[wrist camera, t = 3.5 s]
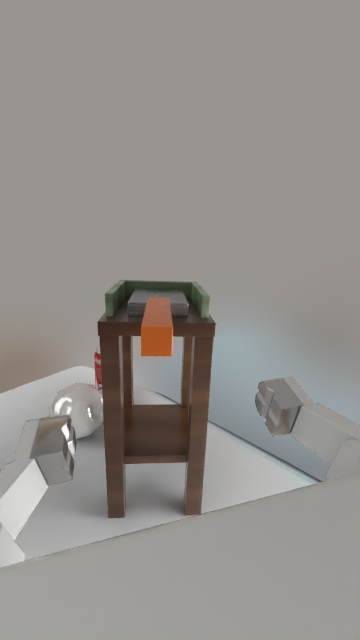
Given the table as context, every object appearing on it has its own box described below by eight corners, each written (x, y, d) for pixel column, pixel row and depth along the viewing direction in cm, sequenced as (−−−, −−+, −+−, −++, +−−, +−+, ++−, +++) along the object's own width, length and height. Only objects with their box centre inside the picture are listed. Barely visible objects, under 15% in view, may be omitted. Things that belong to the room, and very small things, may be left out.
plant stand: (201, 515, 34) (217, 299, 27) (107, 519, 34) (96, 296, 26) (190, 443, 47) (199, 281, 39) (121, 444, 46) (117, 279, 38)
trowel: (134, 300, 37) (134, 284, 36) (181, 301, 37) (182, 286, 37) (109, 356, 19) (108, 326, 18) (202, 356, 19) (204, 327, 18)
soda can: (106, 389, 63) (105, 341, 60) (124, 395, 61) (124, 346, 58) (91, 399, 59) (88, 348, 55) (109, 406, 56) (108, 353, 53)
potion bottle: (46, 451, 46) (118, 420, 57) (70, 445, 40) (145, 412, 51) (34, 398, 48) (106, 379, 59) (55, 385, 42) (131, 366, 53)
